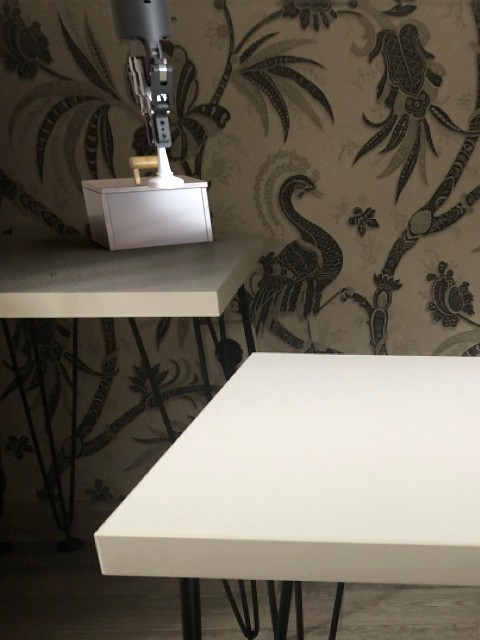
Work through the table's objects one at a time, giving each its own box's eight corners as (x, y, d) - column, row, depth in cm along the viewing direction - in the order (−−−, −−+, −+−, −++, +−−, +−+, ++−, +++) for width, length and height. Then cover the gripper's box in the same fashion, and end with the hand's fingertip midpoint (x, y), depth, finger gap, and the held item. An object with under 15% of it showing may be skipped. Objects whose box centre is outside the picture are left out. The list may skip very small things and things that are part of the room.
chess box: (214, 248, 142) (206, 187, 137) (112, 258, 135) (100, 194, 130) (191, 239, 150) (183, 180, 146) (94, 248, 143) (82, 186, 139)
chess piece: (154, 183, 130) (142, 104, 125) (188, 184, 130) (178, 104, 125) (143, 188, 126) (130, 106, 121) (178, 188, 126) (167, 106, 121)
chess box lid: (208, 187, 137) (204, 154, 134) (101, 194, 130) (95, 160, 128) (183, 180, 146) (178, 149, 144) (82, 186, 139) (76, 154, 137)
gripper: (95, -2, 120) (120, 145, 129) (121, -9, 110) (147, 151, 119) (152, 0, 124) (172, 143, 132) (183, -7, 113) (203, 148, 122)
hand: (160, 146), depth 125 cm, fingers closed on chess piece
